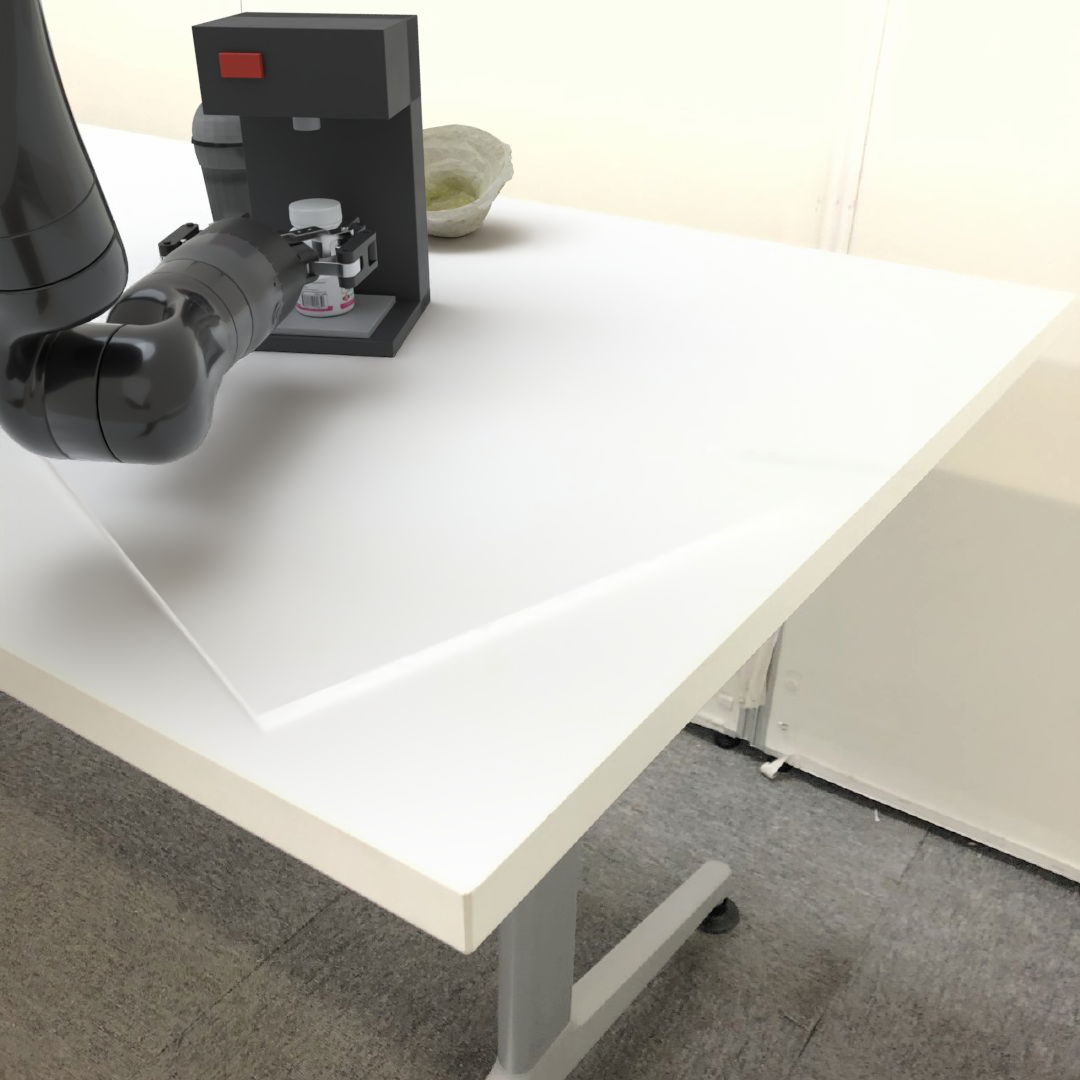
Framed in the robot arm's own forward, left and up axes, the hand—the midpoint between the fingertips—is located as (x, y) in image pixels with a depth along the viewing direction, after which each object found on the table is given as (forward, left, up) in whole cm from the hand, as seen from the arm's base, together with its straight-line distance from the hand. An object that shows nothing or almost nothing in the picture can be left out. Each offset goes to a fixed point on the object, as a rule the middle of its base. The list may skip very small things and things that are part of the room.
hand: (300, 227), depth 85 cm
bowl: (+4, +34, -9) cm, 36 cm away
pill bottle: (0, +3, -8) cm, 8 cm away
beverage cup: (-13, +21, -9) cm, 26 cm away
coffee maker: (0, +5, -9) cm, 11 cm away
